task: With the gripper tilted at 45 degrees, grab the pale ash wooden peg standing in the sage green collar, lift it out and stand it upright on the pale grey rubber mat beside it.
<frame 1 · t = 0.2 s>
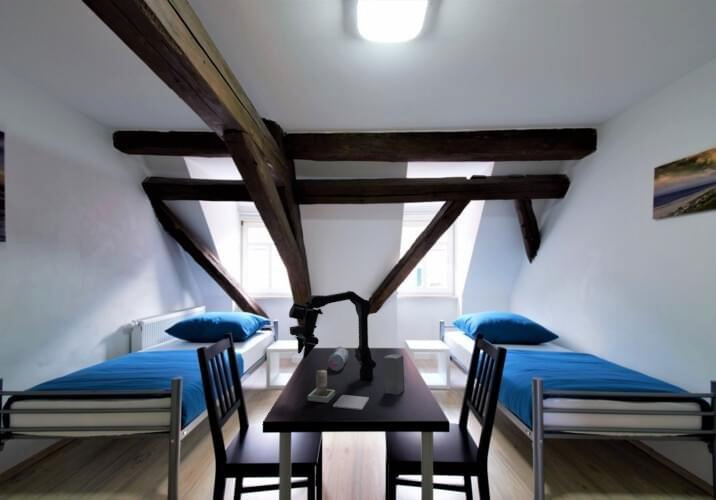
hand: (301, 355, 155), 15 cm above the table, tool tilted 15°, fingers open, 9 cm apart
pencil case: (338, 366, 190), on the table
ash peg: (321, 384, 144), in the green collar
rubber mat: (351, 402, 138), on the table
green collar: (321, 397, 144), on the table
skincare box: (394, 392, 151), on the table
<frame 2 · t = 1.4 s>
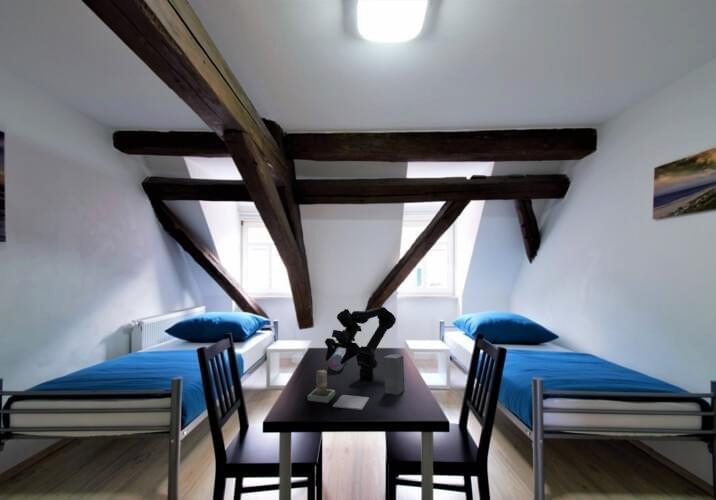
hand: (333, 362, 150), 13 cm above the table, tool tilted 45°, fingers open, 9 cm apart
nothing on the table moved.
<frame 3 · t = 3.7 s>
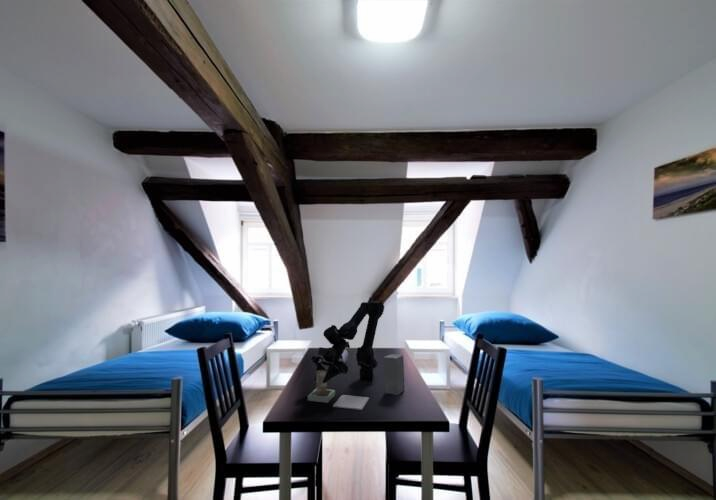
hand: (319, 381, 143), 7 cm above the table, tool tilted 45°, fingers closed on ash peg, 5 cm apart
ash peg: (321, 384, 144), in the green collar, touching gripper
everything else where it was.
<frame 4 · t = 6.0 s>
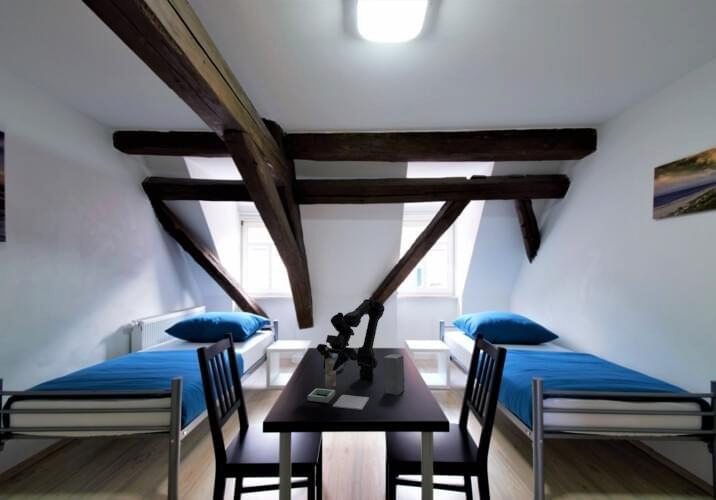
hand: (328, 369, 141), 13 cm above the table, tool tilted 45°, fingers closed on ash peg, 4 cm apart
ash peg: (330, 372, 142), point 11 cm above the table, touching gripper
everything else where it was.
when the fingers open (9 cm above the table, at t = 8.1 s): ash peg drops 1 cm, resting on rubber mat.
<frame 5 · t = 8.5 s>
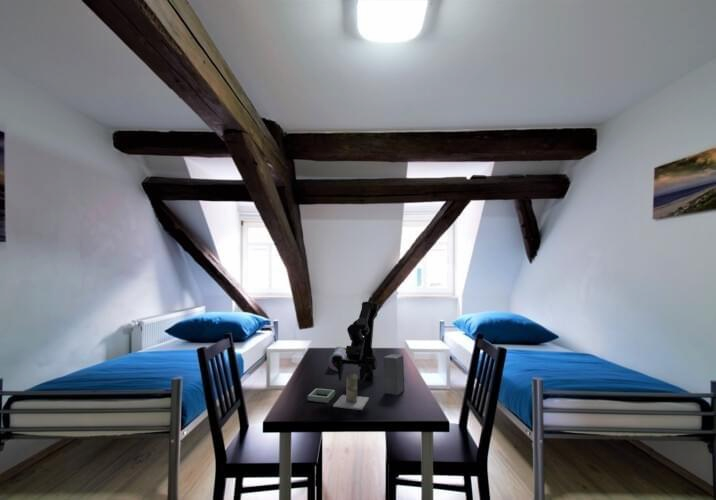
hand: (350, 381, 137), 9 cm above the table, tool tilted 45°, fingers open, 9 cm apart
ash peg: (351, 387, 139), on the rubber mat
everything else where it was.
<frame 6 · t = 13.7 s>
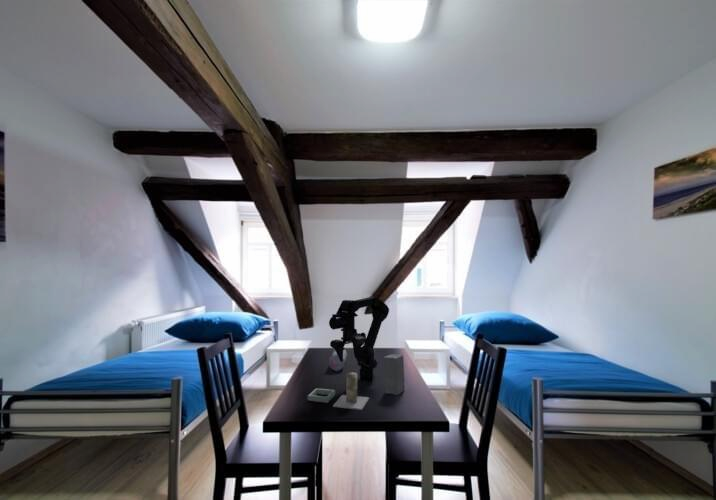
hand: (348, 359, 159), 12 cm above the table, tool pointing down, fingers open, 9 cm apart
nothing on the table moved.
at the end: ash peg inside the target area on the rubber mat (0.1 cm from its centre), point 6.1 cm above the rubber mat's base; ash peg tilted 2°; the gripper is holding nothing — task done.
